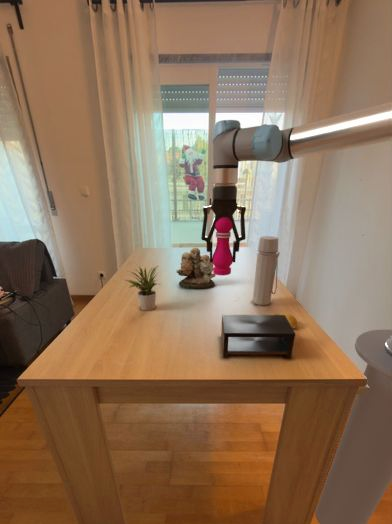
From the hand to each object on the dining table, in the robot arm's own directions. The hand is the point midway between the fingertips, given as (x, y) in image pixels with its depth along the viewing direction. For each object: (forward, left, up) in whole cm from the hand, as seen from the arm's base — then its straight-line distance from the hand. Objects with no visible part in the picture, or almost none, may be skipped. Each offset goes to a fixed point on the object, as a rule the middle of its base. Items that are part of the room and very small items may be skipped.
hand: (222, 261), depth 98 cm
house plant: (+28, -4, -19) cm, 34 cm away
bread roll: (-21, +12, -19) cm, 31 cm away
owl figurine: (+10, -30, -19) cm, 37 cm away
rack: (-9, +27, -19) cm, 34 cm away
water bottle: (-18, -8, -19) cm, 27 cm away
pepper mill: (0, 0, -4) cm, 4 cm away
